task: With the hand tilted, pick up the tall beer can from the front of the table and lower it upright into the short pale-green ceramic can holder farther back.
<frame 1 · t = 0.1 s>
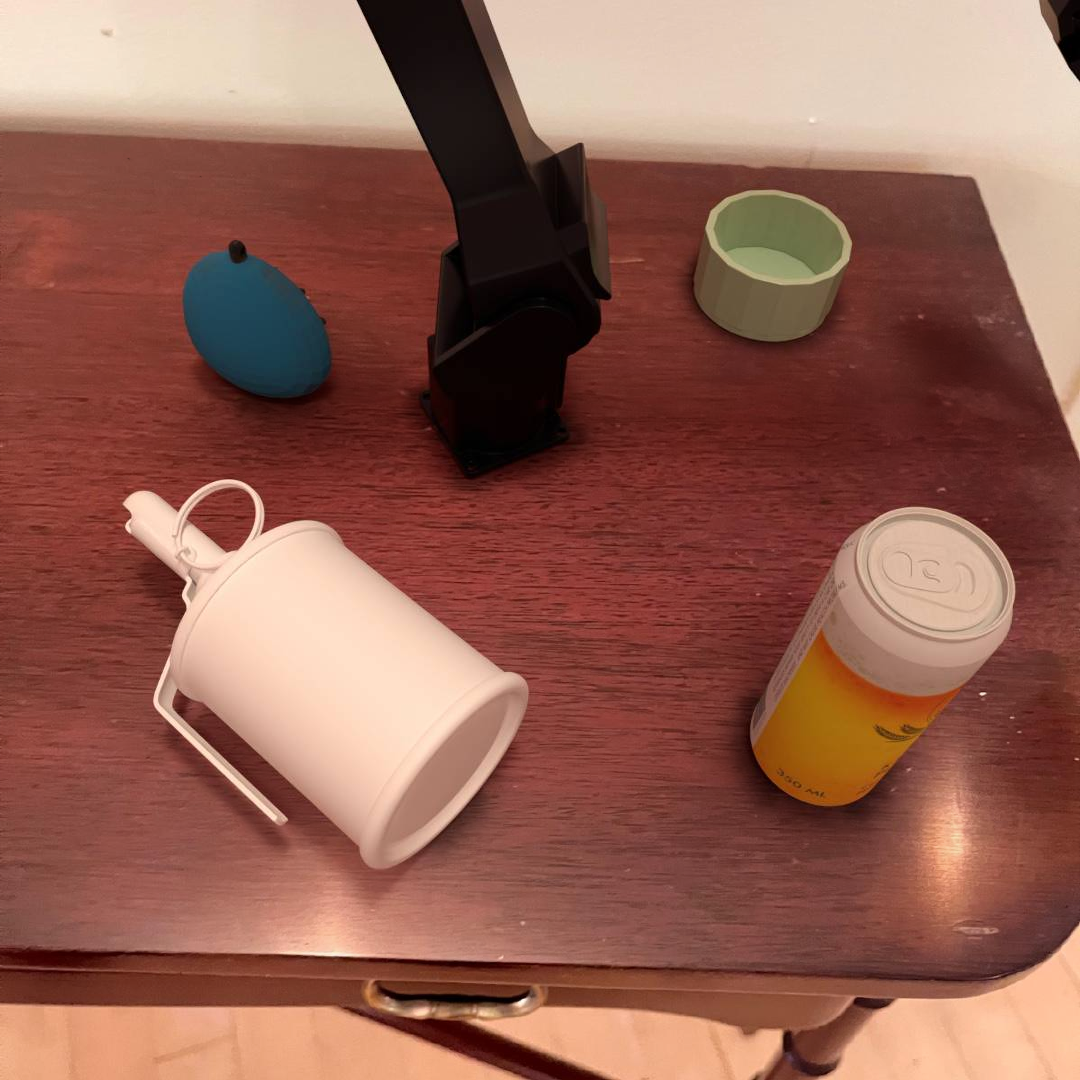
can holder: (761, 293, 63), on the table
ornament: (272, 386, 57), on the table
beer can: (811, 749, 46), on the table
white smoke grenade: (449, 792, 39), point 4 cm above the table
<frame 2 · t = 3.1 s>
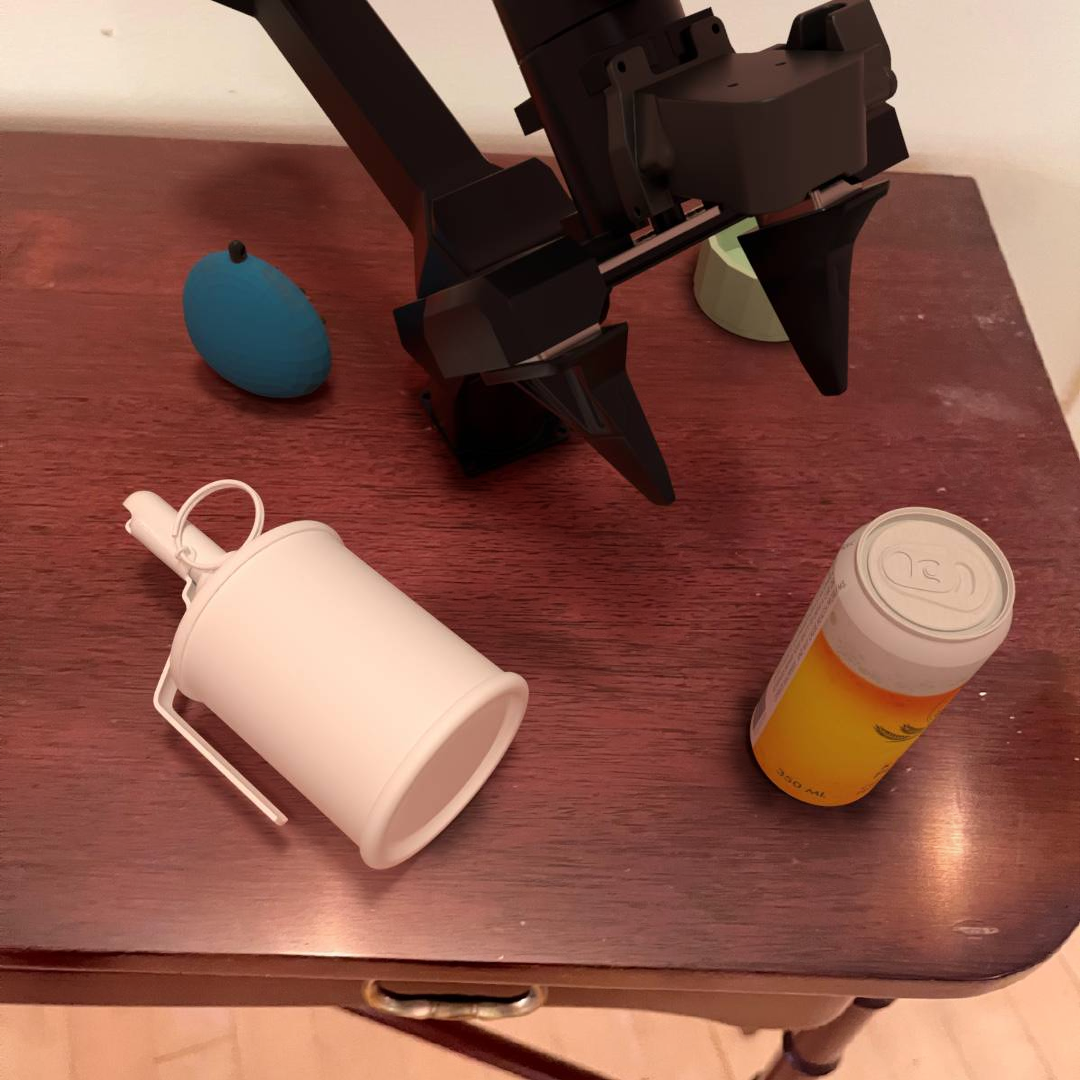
hand: (754, 446, 38), 14 cm above the table, tool tilted 45°, fingers open, 9 cm apart
nothing on the table moved.
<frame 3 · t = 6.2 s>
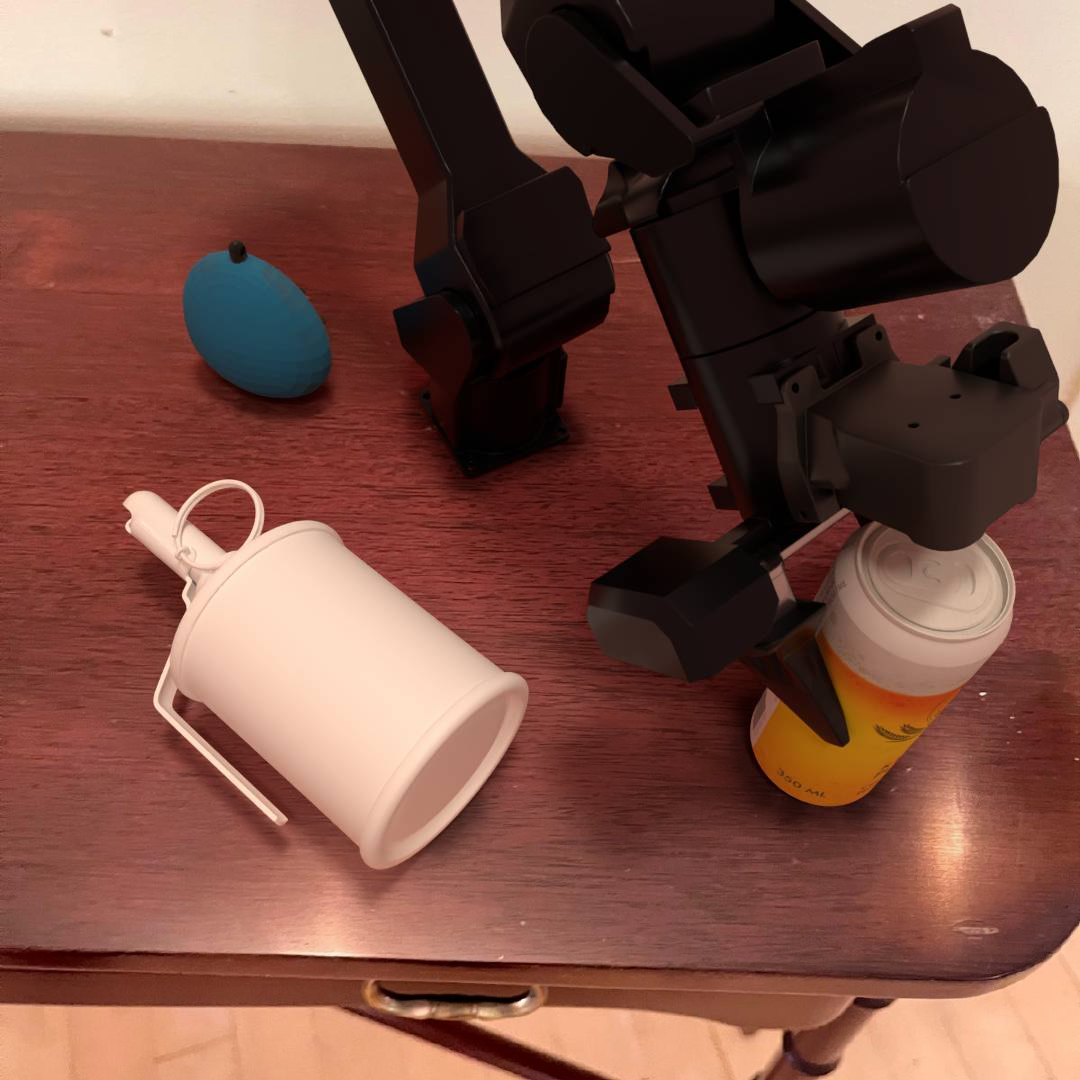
hand: (891, 697, 39), 8 cm above the table, tool tilted 45°, fingers closed on beer can, 6 cm apart
beer can: (811, 749, 46), on the table, touching gripper
everything else where it was.
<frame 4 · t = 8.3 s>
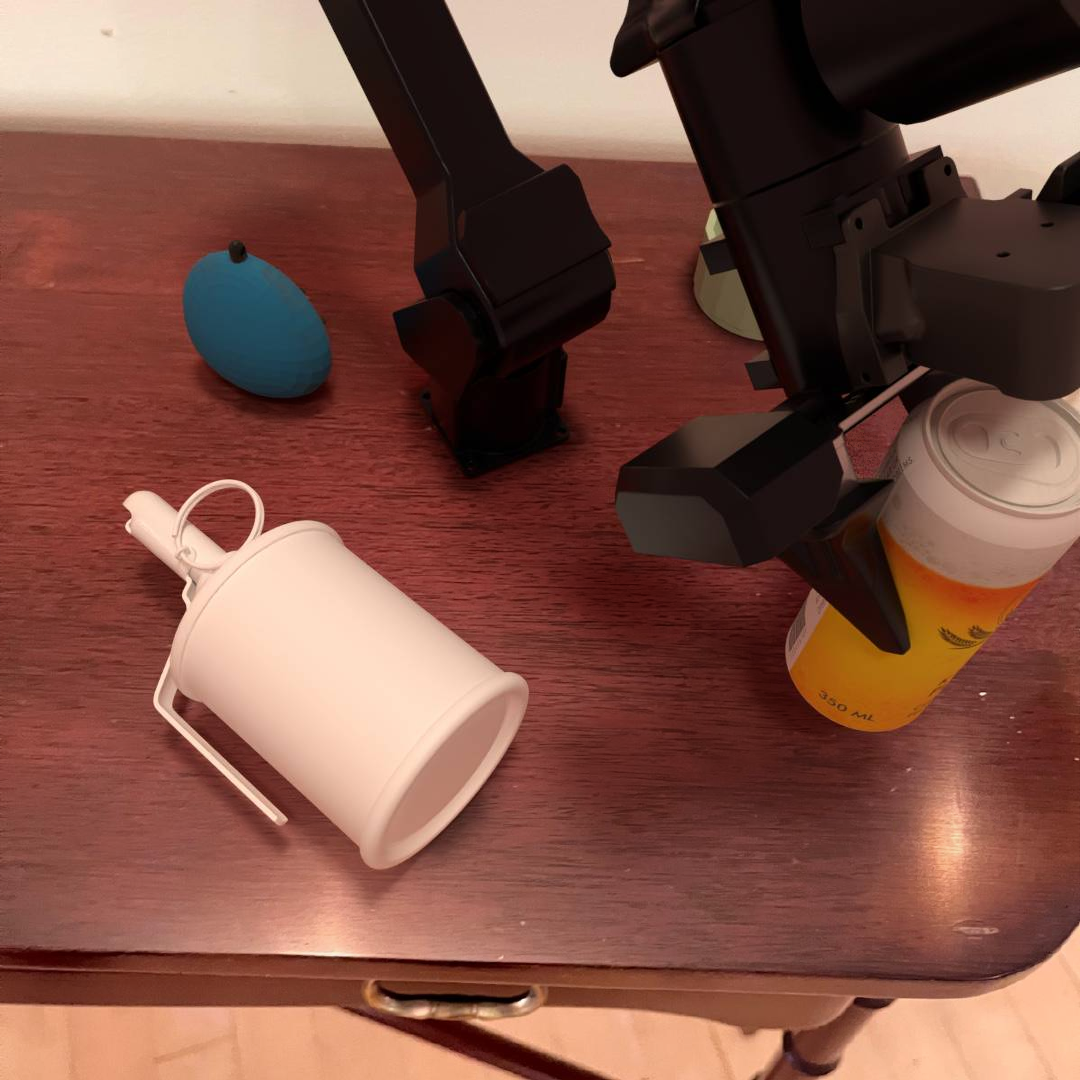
hand: (952, 601, 35), 13 cm above the table, tool tilted 45°, fingers closed on beer can, 6 cm apart
beer can: (851, 673, 42), point 6 cm above the table, touching gripper
everything else where it was.
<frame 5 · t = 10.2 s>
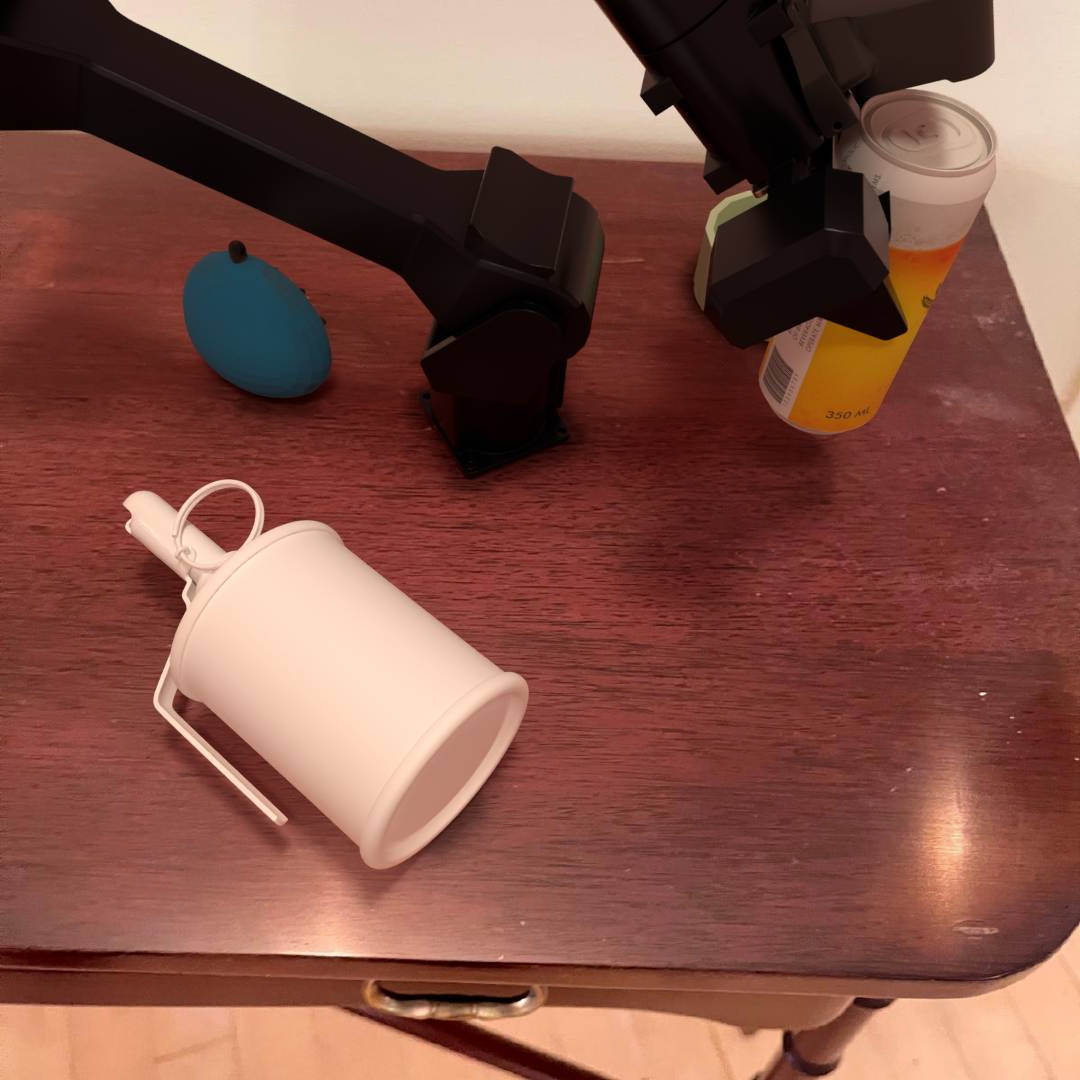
hand: (895, 285, 44), 13 cm above the table, tool tilted 45°, fingers closed on beer can, 6 cm apart
beer can: (813, 399, 51), point 6 cm above the table, touching gripper
everything else where it was.
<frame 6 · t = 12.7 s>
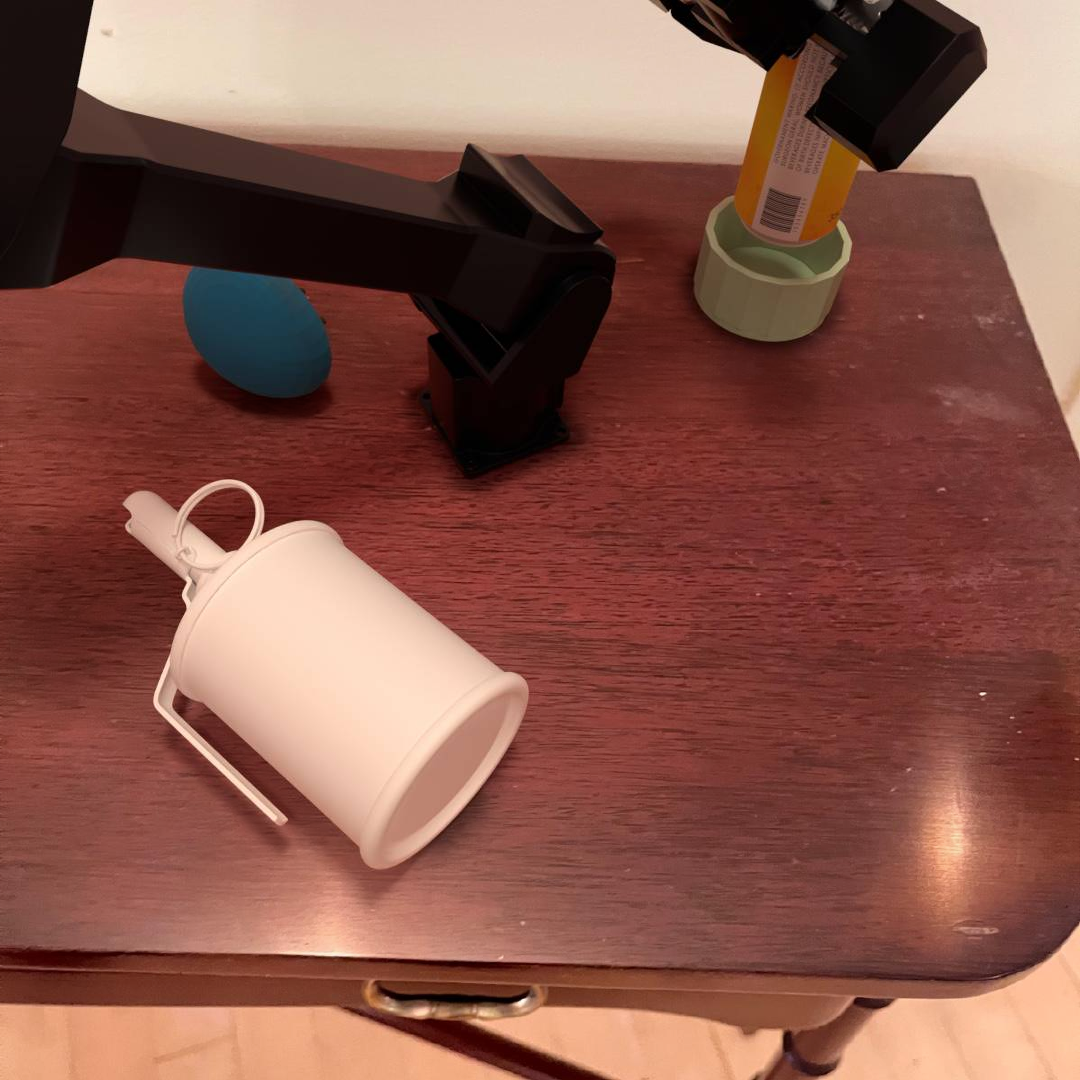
hand: (838, 91, 53), 13 cm above the table, tool tilted 45°, fingers closed on beer can, 6 cm apart
beer can: (781, 222, 59), point 6 cm above the table, touching gripper
everything else where it was.
when the fingers open (8 cm above the table, at t = 14.7 s): beer can stays where it is, resting on can holder.
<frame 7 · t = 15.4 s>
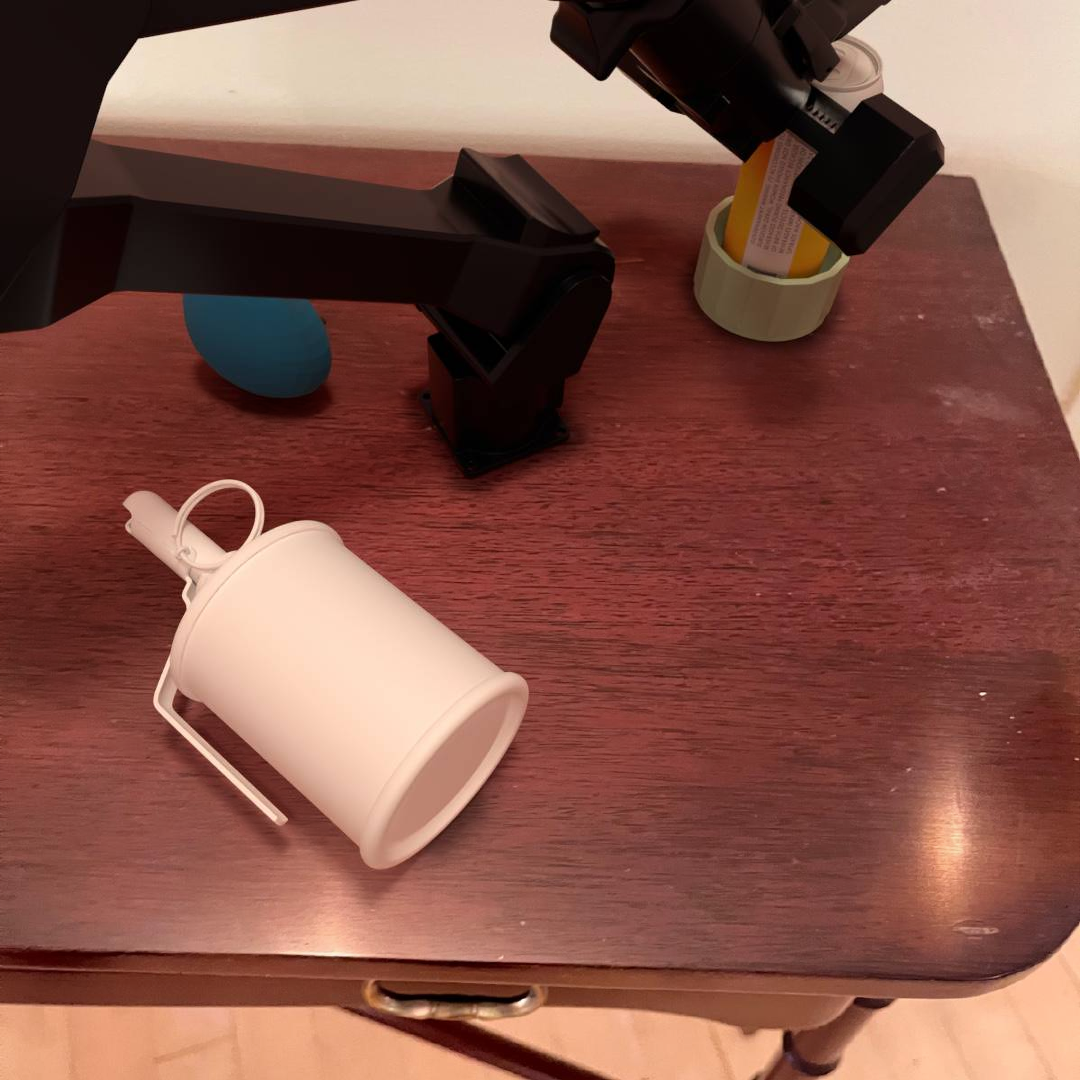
hand: (815, 165, 57), 9 cm above the table, tool tilted 45°, fingers open, 9 cm apart
beer can: (760, 290, 63), resting on can holder
everything else where it was.
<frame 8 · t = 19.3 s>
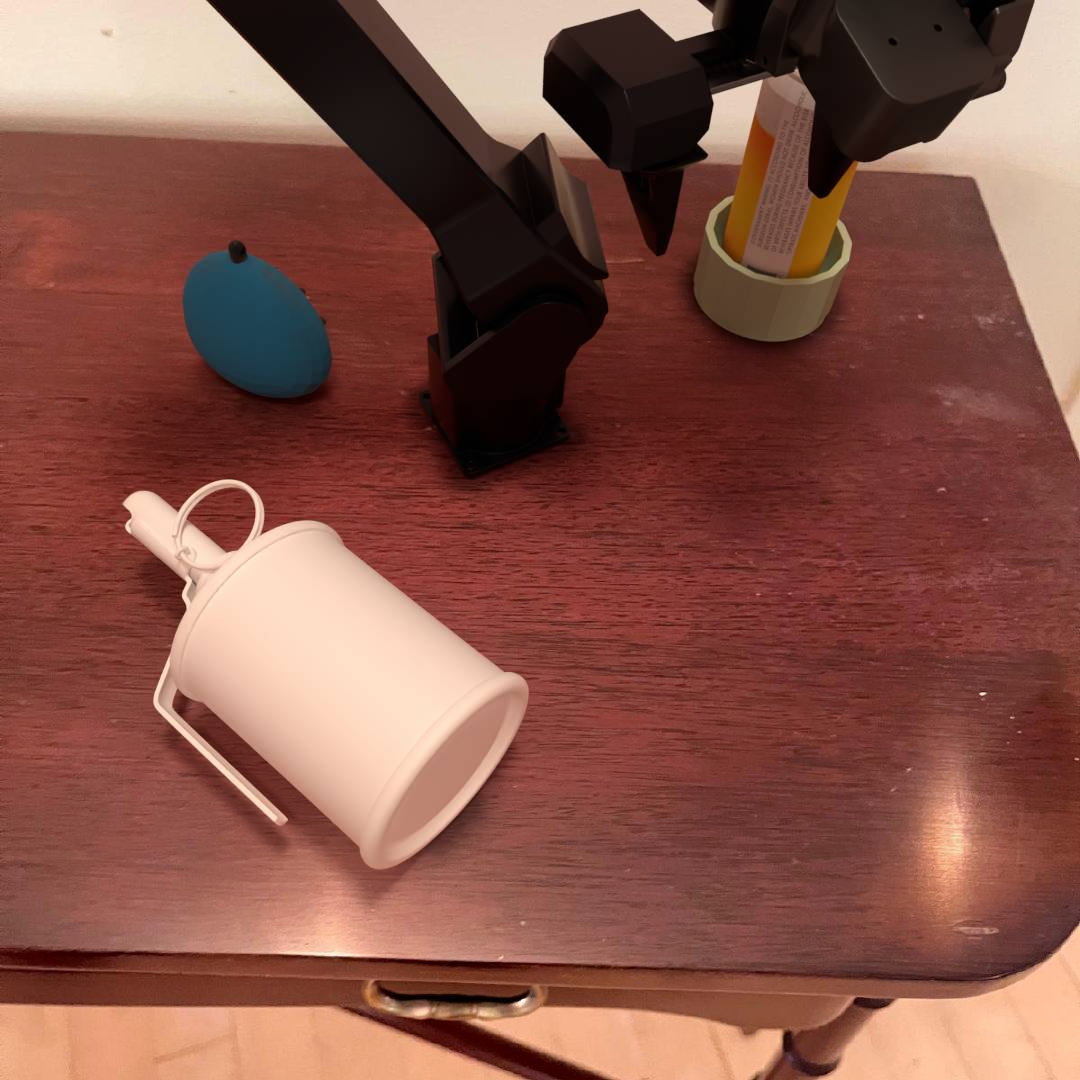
hand: (738, 221, 47), 13 cm above the table, tool pointing down, fingers open, 9 cm apart
nothing on the table moved.
at the end: beer can 0.1 cm off-centre in the can holder, point 0.3 cm above the can holder's base; beer can tilted 0°; the gripper is holding nothing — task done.
